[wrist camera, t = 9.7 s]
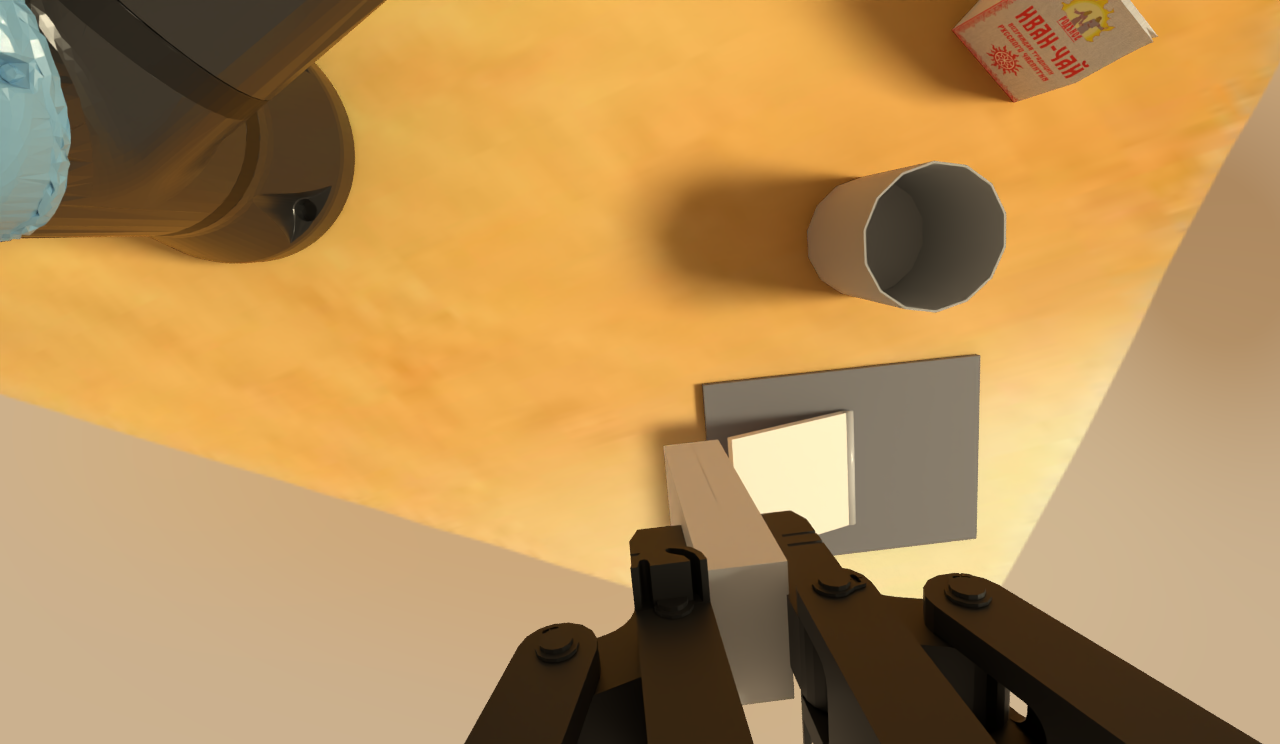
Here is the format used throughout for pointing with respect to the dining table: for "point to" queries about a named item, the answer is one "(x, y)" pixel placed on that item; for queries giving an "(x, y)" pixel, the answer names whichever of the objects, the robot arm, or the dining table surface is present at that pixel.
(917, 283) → the cup
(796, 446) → the tile
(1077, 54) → the white printed box
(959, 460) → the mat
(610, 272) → the dining table surface
